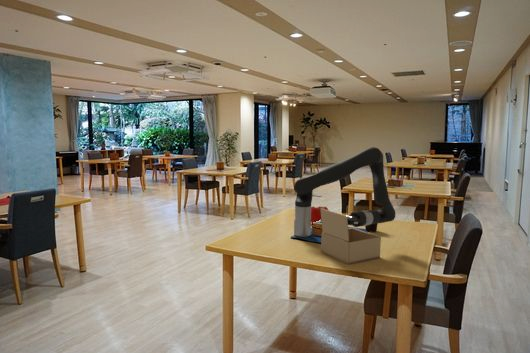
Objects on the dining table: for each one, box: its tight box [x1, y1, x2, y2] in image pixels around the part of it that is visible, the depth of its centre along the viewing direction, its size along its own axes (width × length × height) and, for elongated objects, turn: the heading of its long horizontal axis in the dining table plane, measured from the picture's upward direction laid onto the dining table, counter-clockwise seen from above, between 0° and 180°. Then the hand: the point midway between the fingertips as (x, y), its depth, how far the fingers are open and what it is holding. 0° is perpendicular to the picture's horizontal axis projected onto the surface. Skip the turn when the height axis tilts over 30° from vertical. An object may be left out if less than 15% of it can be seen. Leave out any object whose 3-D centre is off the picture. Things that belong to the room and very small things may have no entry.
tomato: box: [311, 206, 329, 224], centre depth 252 cm, size 13×14×12 cm
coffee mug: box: [364, 223, 379, 233], centre depth 239 cm, size 12×9×10 cm
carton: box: [320, 227, 382, 265], centre depth 191 cm, size 20×21×10 cm
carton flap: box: [321, 208, 349, 241], centre depth 185 cm, size 1×19×12 cm, turn 29°
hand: (334, 222), depth 185 cm, fingers closed
